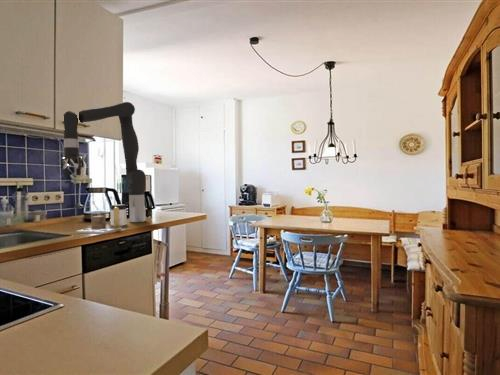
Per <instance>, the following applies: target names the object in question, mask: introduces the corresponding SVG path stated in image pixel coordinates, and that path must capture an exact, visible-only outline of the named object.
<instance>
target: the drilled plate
mask: <svg viewBox="0 0 500 375" xmlns="http://www.w3.org/2000/svg"><path fill="white" fill-rule="evenodd" d="M113 232H115V230H114V229H112V228H105V229H93V228H90V227H89V228H84V229H83V228H82V229H78V230H75V233H76V234H77V233H78V234H96V235H97V234H100V235H101V234H102V235H104V234H108V233H113Z"/></svg>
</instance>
